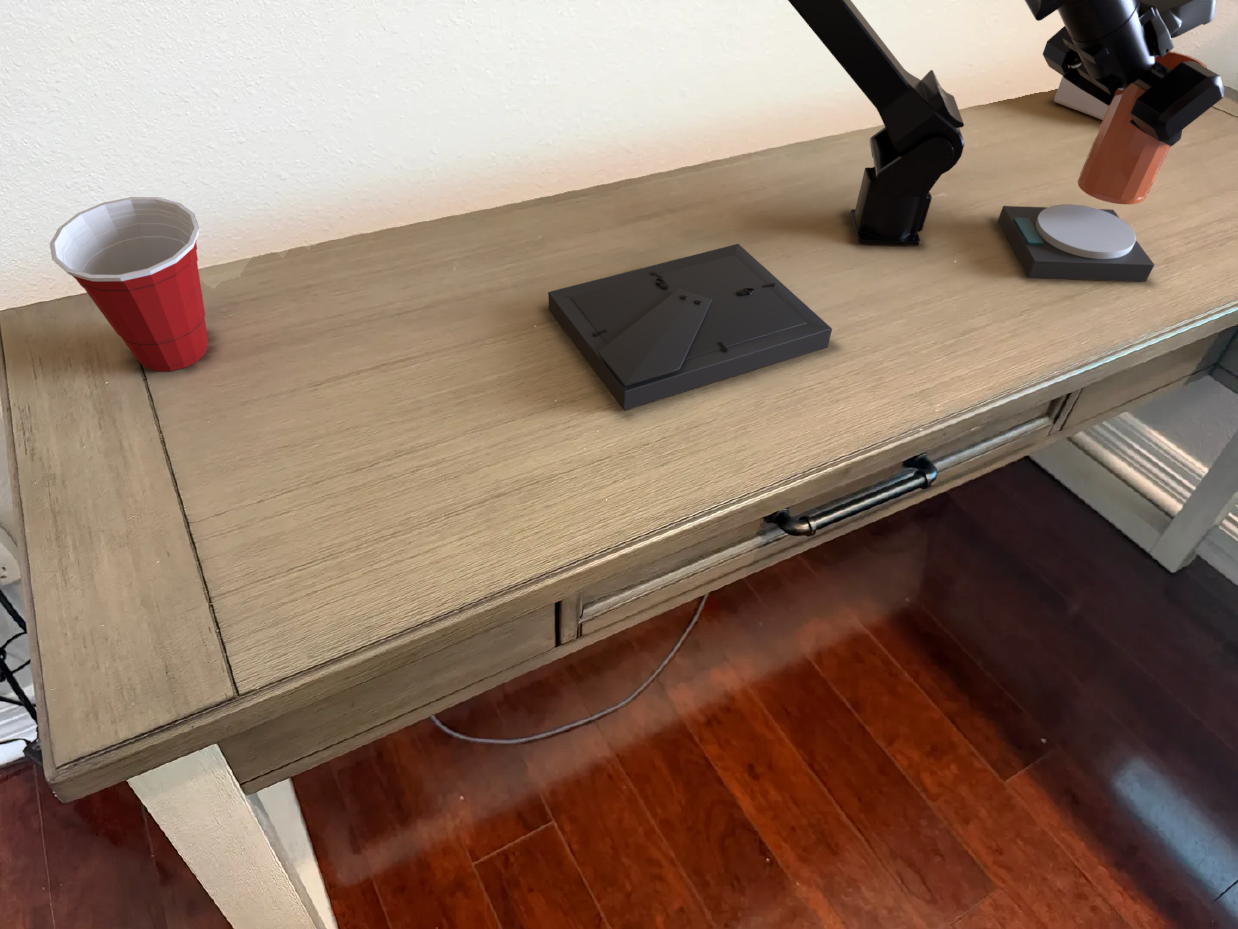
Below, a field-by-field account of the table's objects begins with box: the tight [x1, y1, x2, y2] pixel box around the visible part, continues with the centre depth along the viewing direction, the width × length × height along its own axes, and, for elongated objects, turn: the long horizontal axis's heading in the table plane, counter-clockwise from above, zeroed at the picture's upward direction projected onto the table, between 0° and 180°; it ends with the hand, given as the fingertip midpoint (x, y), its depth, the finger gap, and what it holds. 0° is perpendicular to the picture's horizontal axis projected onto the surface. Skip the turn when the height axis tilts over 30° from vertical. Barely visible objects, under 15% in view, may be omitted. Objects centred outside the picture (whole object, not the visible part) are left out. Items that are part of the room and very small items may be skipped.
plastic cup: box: [49, 196, 209, 372], centre depth 74 cm, size 11×11×12 cm
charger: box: [1053, 76, 1108, 121], centre depth 117 cm, size 5×9×15 cm
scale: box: [997, 203, 1155, 283], centre depth 93 cm, size 12×11×3 cm
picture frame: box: [547, 243, 833, 412], centre depth 81 cm, size 16×3×21 cm
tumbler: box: [1077, 50, 1208, 205], centre depth 90 cm, size 7×7×13 cm
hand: (1151, 126), depth 90 cm, fingers closed on tumbler, 7 cm apart
